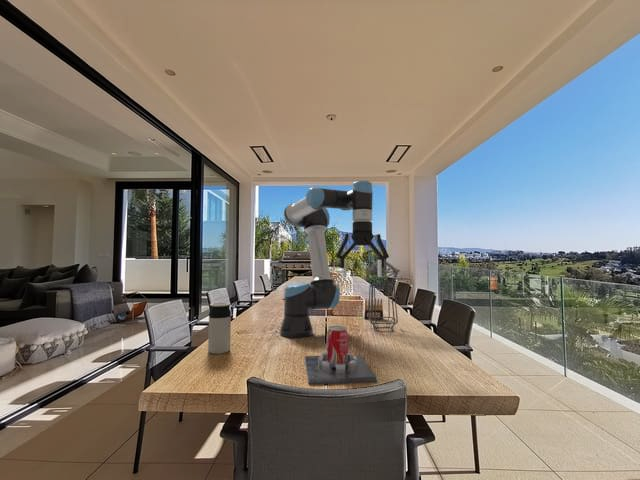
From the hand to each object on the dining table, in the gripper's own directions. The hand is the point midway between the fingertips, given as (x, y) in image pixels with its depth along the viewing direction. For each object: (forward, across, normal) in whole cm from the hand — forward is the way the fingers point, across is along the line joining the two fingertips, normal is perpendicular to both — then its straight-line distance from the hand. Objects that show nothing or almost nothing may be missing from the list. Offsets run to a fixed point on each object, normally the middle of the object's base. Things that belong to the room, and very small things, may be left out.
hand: (362, 276), depth 121 cm
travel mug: (+29, -54, +6) cm, 62 cm away
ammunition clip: (+29, +21, +60) cm, 70 cm away
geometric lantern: (+29, +18, +35) cm, 49 cm away
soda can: (+27, -12, -17) cm, 34 cm away
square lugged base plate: (+29, -12, -17) cm, 35 cm away
